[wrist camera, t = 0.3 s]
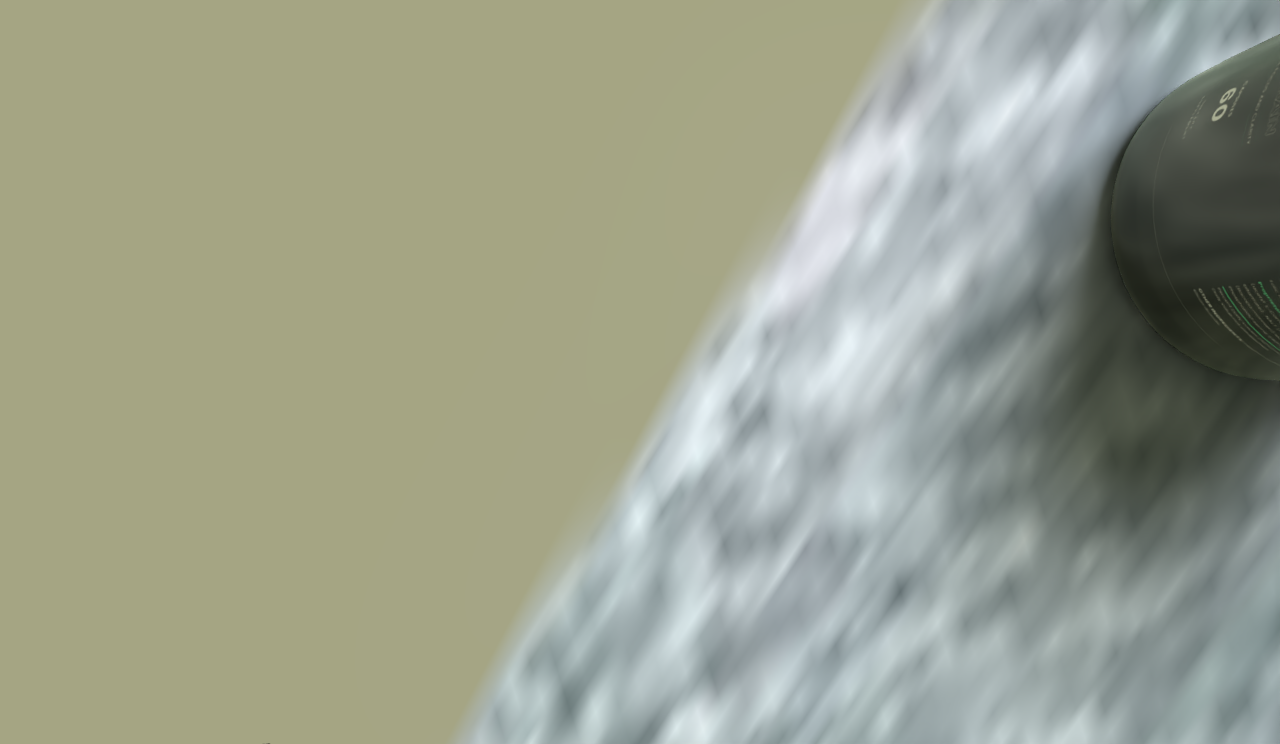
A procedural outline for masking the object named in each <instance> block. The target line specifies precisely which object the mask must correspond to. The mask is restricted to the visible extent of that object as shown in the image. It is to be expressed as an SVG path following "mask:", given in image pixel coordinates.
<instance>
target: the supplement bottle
mask: <svg viewBox="0 0 1280 744" xmlns="http://www.w3.org/2000/svg"><path fill="white" fill-rule="evenodd" d="M1111 234H1112V242H1113V249H1114V253H1115V257H1116V262H1117V265H1118V268H1119V271H1120V274H1121V277H1122V280H1123V282H1124V284H1125V286H1126V288H1127V291H1128V293H1129V295H1130V296H1131V298H1132V300H1133V302H1134V303H1135V305H1136V307H1137V308H1138V310H1139V311H1140V312H1141V314H1142V315H1143V317H1144V318H1145V319H1146V320H1147V322H1148V323H1149V324H1150V325H1151V326H1152V327H1153V329H1154V330H1155V331H1156V332H1157V333H1158V334H1159V335H1160V336H1162V337H1163V338H1164V339H1165V340H1166V341H1167V342H1168V343H1170V344H1171V345H1172V346H1173V347H1175V348H1176V349H1177V350H1179V351H1180V352H1182V353H1183V354H1185V355H1186V356H1188V357H1190V358H1191V359H1193V360H1195V361H1197V362H1199V363H1201V364H1203V365H1205V366H1207V367H1209V368H1212V369H1215V370H1217V371H1220V372H1223V373H1227V374H1230V375H1234V376H1239V377H1245V378H1251V379H1258V380H1274V381H1280V34H1279V35H1277V36H1275V37H1272V38H1270V39H1268V40H1266V41H1264V42H1262V43H1260V44H1258V45H1256V46H1254V47H1252V48H1250V49H1248V50H1246V51H1244V52H1241V53H1239V54H1237V55H1235V56H1233V57H1231V58H1229V59H1227V60H1225V61H1223V62H1222V63H1220V64H1218V65H1216V66H1214V67H1212V68H1210V69H1208V70H1206V71H1204V72H1202V73H1200V74H1199V75H1197V76H1195V77H1194V78H1192V79H1190V80H1188V81H1187V82H1185V83H1184V84H1182V85H1181V86H1180V87H1178V88H1177V89H1176V90H1174V91H1173V92H1172V93H1170V94H1169V95H1168V96H1167V97H1166V98H1165V99H1163V100H1162V101H1161V102H1160V103H1159V104H1158V105H1157V106H1156V107H1155V108H1154V110H1153V111H1152V112H1151V113H1150V114H1149V115H1148V116H1147V118H1146V119H1145V120H1144V122H1143V123H1142V124H1141V126H1140V127H1139V129H1138V130H1137V132H1136V133H1135V135H1134V137H1133V138H1132V140H1131V142H1130V143H1129V145H1128V147H1127V150H1126V152H1125V154H1124V156H1123V158H1122V161H1121V164H1120V167H1119V169H1118V172H1117V176H1116V180H1115V184H1114V189H1113V196H1112V203H1111Z"/></svg>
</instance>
